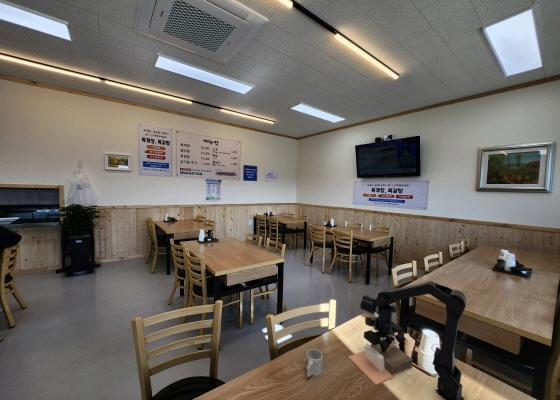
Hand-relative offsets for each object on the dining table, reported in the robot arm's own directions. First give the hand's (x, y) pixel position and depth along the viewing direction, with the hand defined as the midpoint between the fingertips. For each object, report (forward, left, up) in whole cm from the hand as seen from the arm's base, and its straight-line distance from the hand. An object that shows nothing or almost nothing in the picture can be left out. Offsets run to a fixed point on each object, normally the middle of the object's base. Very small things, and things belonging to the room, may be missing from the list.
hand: (383, 352), depth 101 cm
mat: (0, +8, -5) cm, 9 cm away
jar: (+18, -20, -5) cm, 27 cm away
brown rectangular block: (0, -4, -5) cm, 6 cm away
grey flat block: (0, +4, -1) cm, 4 cm away
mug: (+7, +32, -5) cm, 33 cm away
